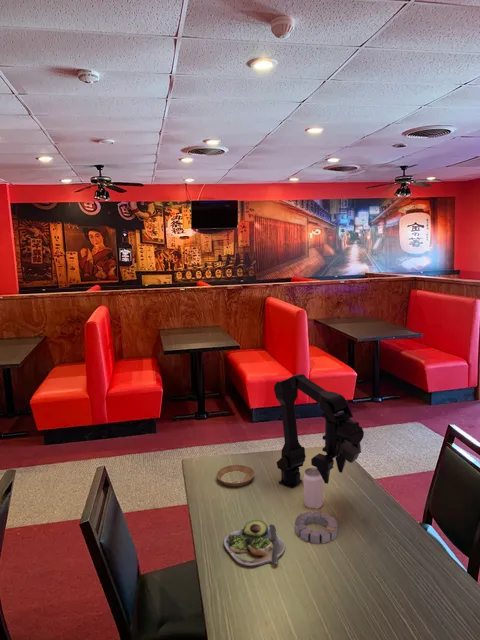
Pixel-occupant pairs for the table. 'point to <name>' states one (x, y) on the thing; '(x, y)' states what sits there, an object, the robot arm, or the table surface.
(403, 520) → the table surface
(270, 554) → the avocado toast plate
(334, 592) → the table surface
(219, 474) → the plant saucer
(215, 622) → the table surface
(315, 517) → the toothed ring
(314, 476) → the can
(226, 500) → the table surface
